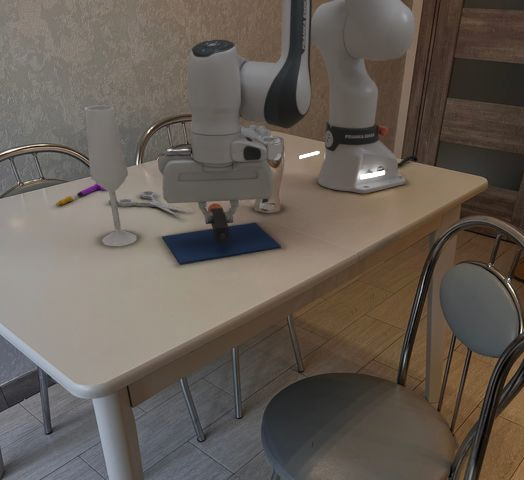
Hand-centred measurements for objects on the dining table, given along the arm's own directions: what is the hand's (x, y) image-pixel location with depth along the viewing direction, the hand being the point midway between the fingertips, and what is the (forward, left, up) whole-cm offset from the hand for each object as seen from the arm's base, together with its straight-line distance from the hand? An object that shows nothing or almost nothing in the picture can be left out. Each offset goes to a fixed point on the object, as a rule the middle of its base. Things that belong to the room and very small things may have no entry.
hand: (219, 222), depth 102 cm
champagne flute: (+18, -9, -4) cm, 20 cm away
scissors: (+7, -24, -4) cm, 25 cm away
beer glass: (-16, -14, -4) cm, 22 cm away
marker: (0, 0, -2) cm, 2 cm away
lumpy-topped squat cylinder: (-28, -53, -4) cm, 60 cm away
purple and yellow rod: (+21, -37, -4) cm, 43 cm away
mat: (0, 0, -4) cm, 4 cm away
